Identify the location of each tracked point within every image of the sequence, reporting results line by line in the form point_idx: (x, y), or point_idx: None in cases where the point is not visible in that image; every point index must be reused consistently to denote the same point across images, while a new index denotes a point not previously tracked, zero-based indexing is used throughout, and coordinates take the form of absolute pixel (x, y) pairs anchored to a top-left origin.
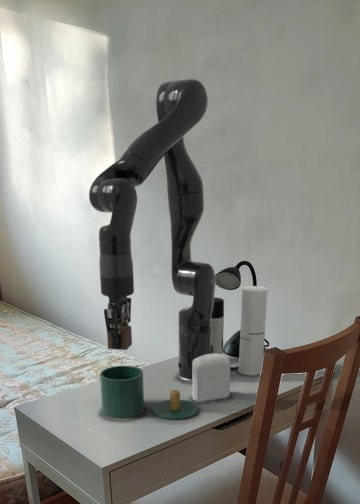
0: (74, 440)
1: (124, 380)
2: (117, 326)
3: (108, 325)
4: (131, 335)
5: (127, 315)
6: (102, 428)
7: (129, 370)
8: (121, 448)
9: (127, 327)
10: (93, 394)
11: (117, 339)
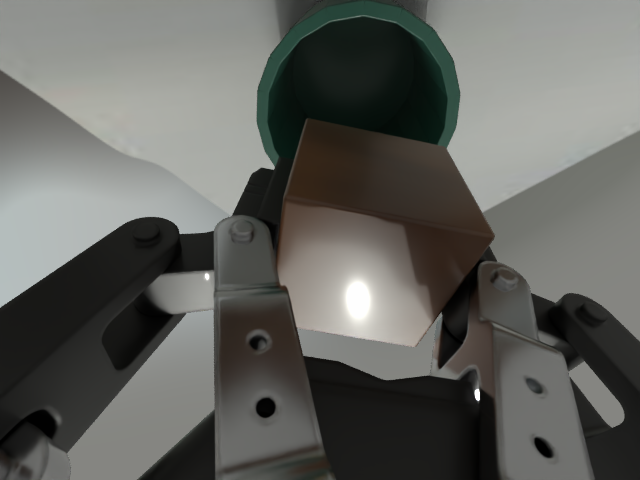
0: (508, 185)
1: (459, 100)
2: (629, 359)
3: (587, 414)
4: (304, 148)
5: (297, 334)
6: (459, 127)
7: (272, 88)
8: (621, 52)
9: (350, 228)
10: (230, 177)
11: (487, 250)
